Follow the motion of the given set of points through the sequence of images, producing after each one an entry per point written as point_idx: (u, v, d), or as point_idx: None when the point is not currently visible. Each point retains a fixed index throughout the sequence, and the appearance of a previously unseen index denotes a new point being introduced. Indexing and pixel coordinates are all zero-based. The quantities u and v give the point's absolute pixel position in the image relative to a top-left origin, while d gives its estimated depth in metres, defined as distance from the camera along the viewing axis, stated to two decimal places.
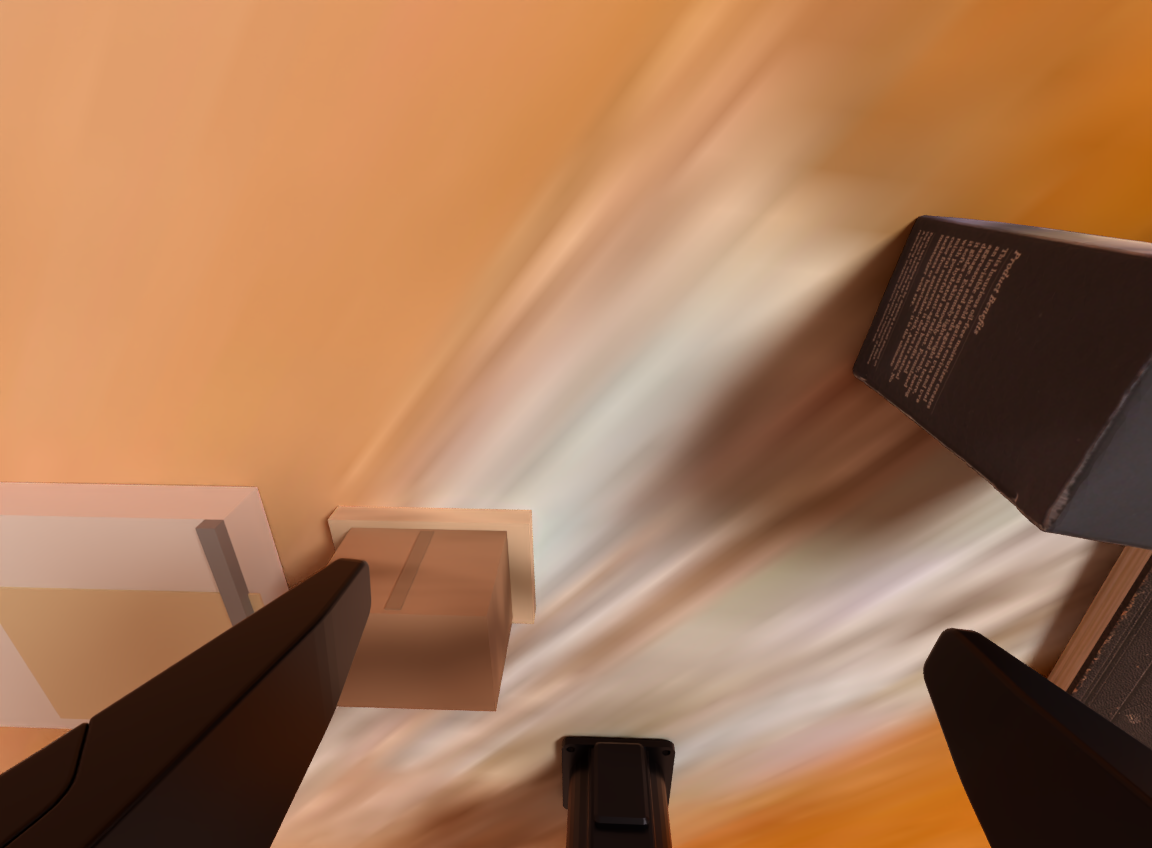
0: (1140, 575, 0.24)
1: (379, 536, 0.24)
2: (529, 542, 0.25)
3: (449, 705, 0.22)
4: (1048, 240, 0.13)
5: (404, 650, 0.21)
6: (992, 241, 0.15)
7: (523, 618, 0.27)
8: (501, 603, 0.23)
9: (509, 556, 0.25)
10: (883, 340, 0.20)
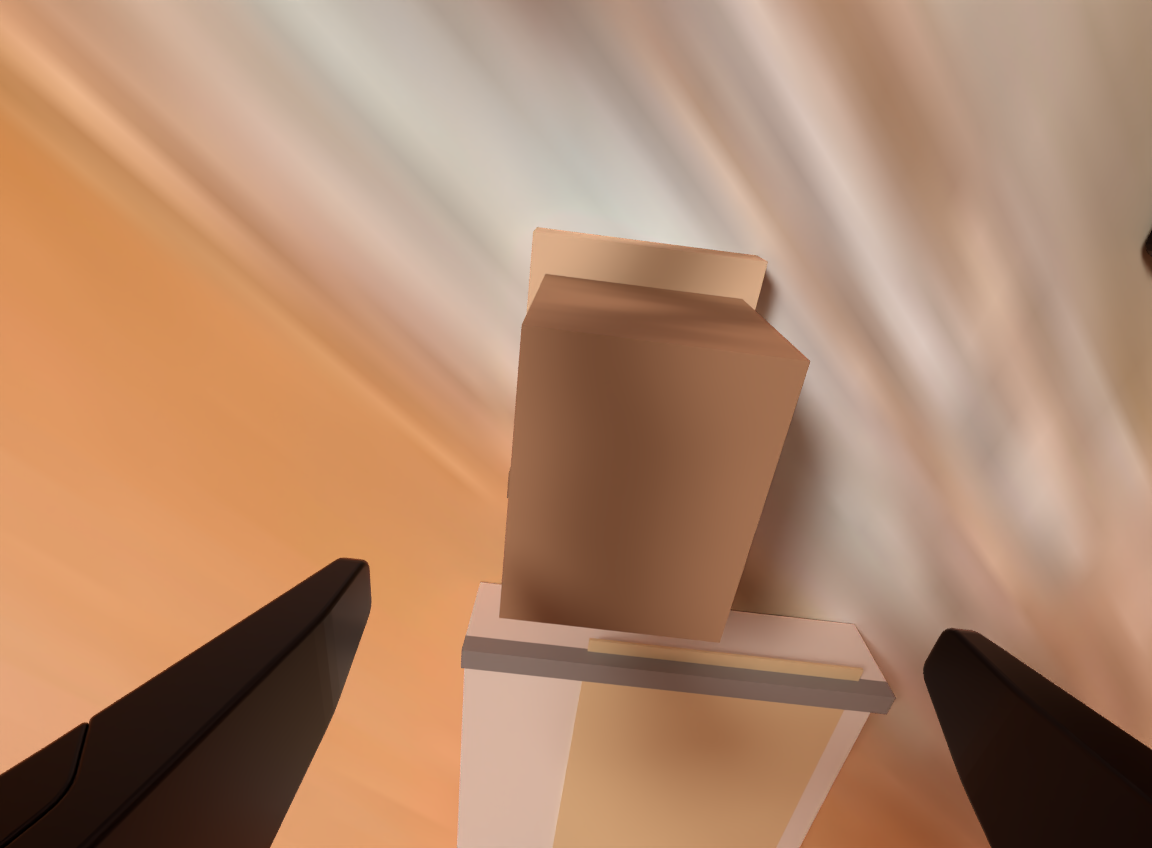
0: None
1: None
2: (575, 237, 0.14)
3: (768, 451, 0.11)
4: None
5: (601, 492, 0.11)
6: None
7: (750, 279, 0.14)
8: (625, 304, 0.12)
9: (600, 279, 0.14)
10: None
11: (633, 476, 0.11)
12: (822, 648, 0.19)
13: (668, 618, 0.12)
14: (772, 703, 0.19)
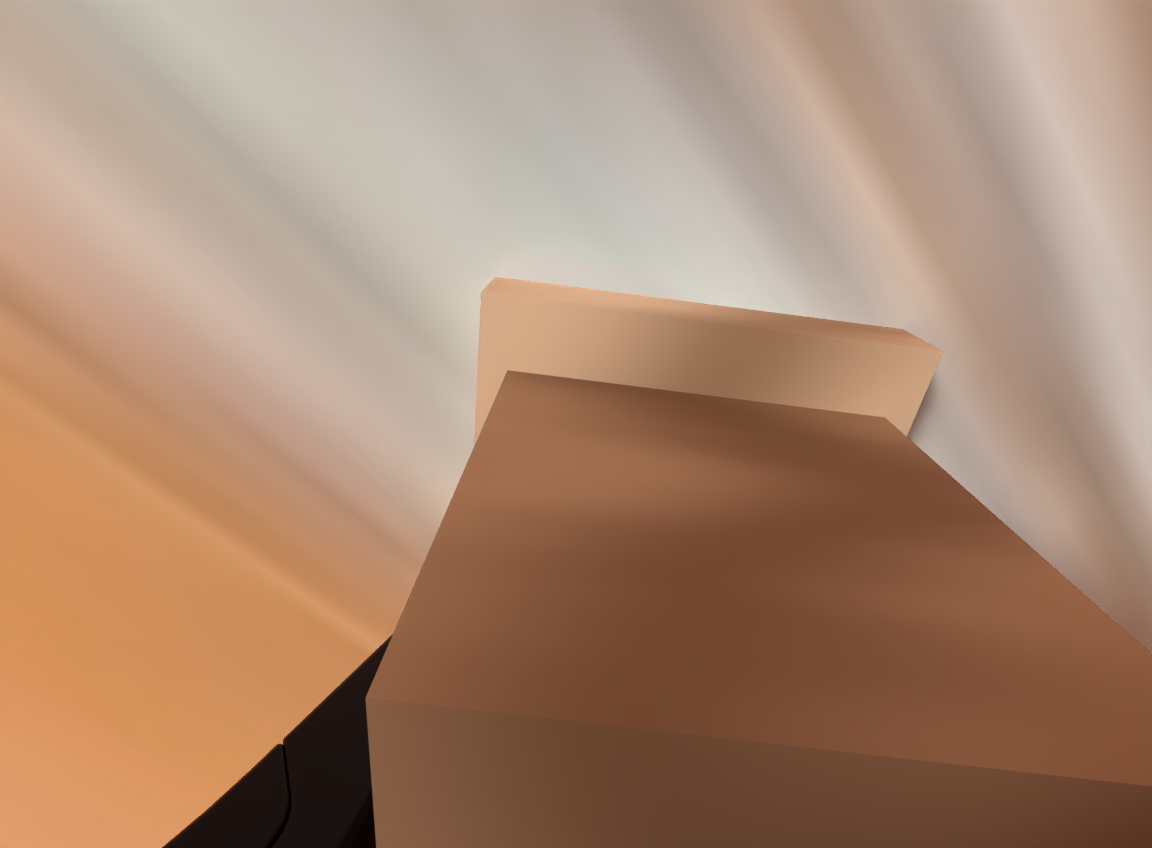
0: None
1: None
2: (565, 304, 0.07)
3: None
4: None
5: None
6: None
7: (904, 383, 0.07)
8: (675, 478, 0.05)
9: (613, 380, 0.07)
10: None
11: None
12: None
13: None
14: None
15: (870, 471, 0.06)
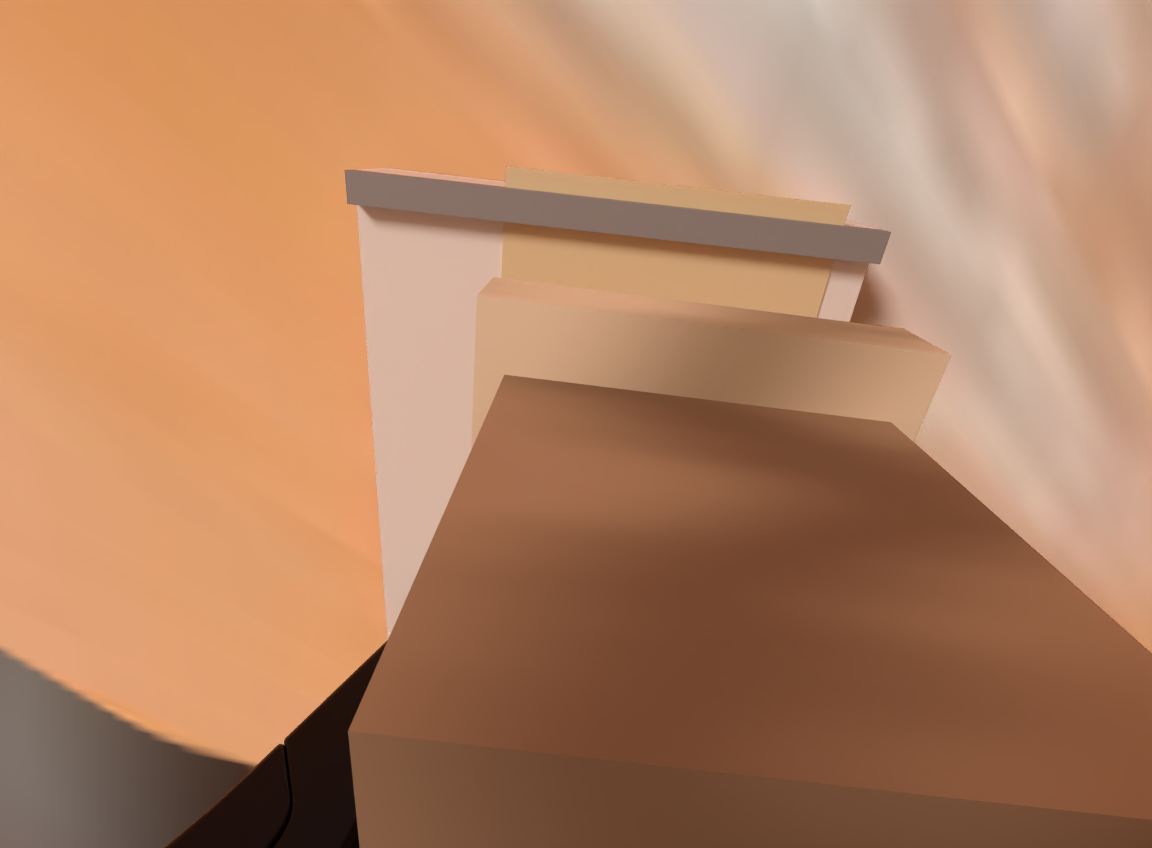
0: None
1: None
2: (563, 307, 0.07)
3: None
4: None
5: None
6: None
7: (911, 387, 0.07)
8: (677, 487, 0.05)
9: (612, 385, 0.07)
10: None
11: None
12: None
13: None
14: (738, 272, 0.15)
15: (878, 479, 0.06)
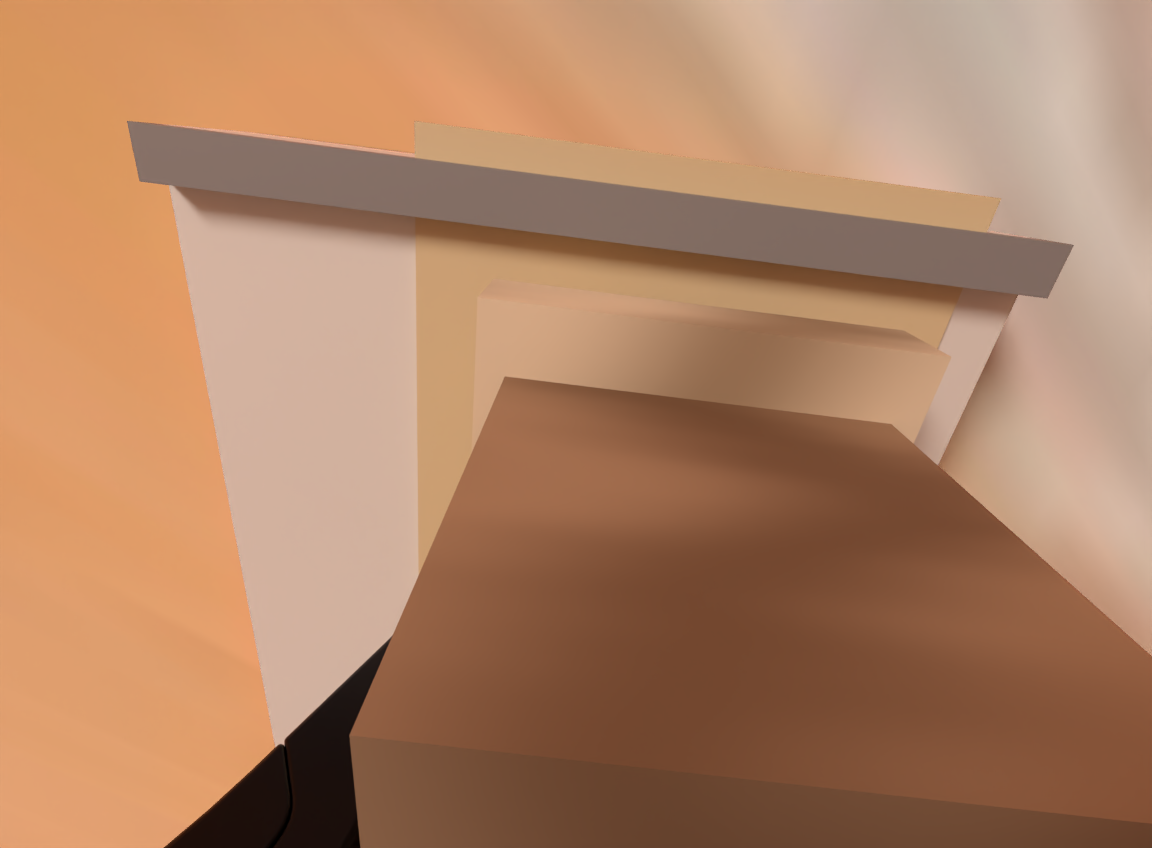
0: None
1: None
2: (563, 308, 0.07)
3: None
4: None
5: None
6: None
7: (912, 389, 0.07)
8: (678, 490, 0.05)
9: (613, 387, 0.07)
10: None
11: None
12: None
13: None
14: (804, 306, 0.09)
15: (878, 481, 0.06)
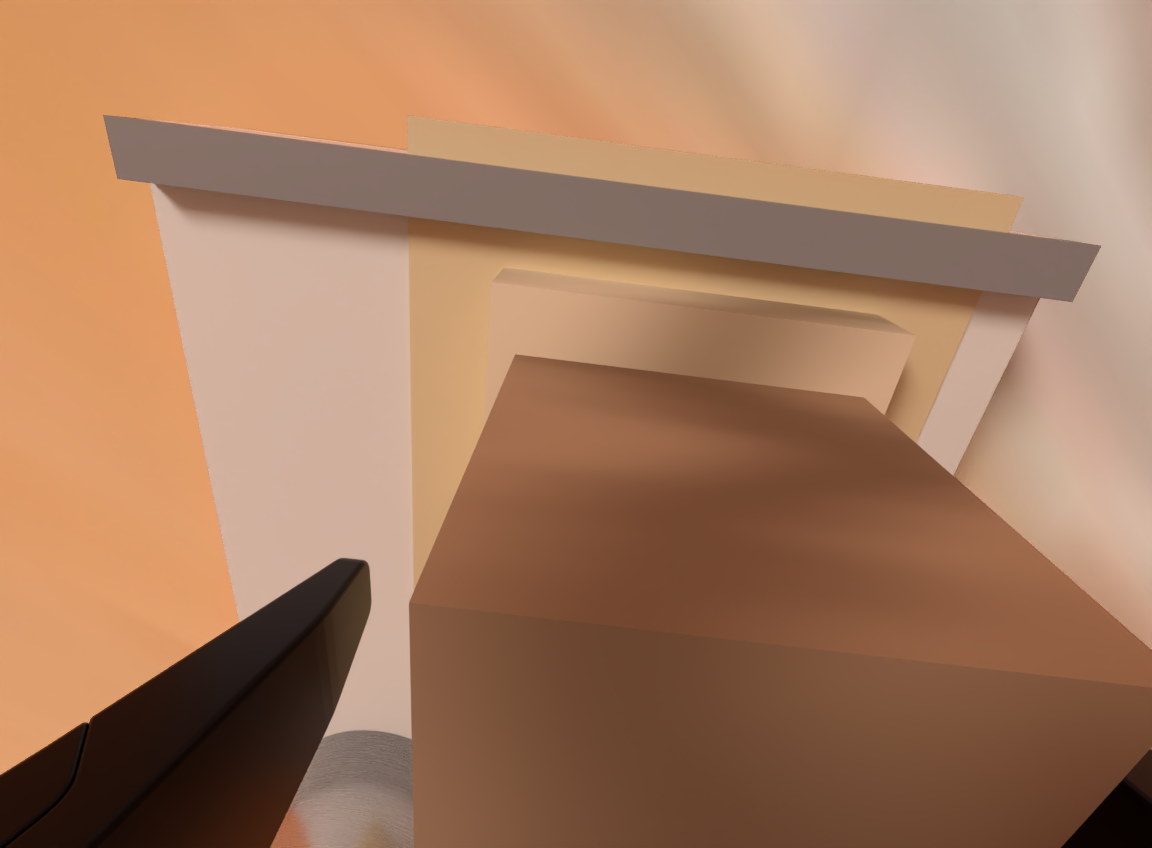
0: None
1: None
2: (568, 292, 0.08)
3: None
4: None
5: None
6: None
7: (881, 365, 0.08)
8: (669, 444, 0.06)
9: (612, 364, 0.08)
10: None
11: None
12: None
13: None
14: None
15: (846, 441, 0.07)
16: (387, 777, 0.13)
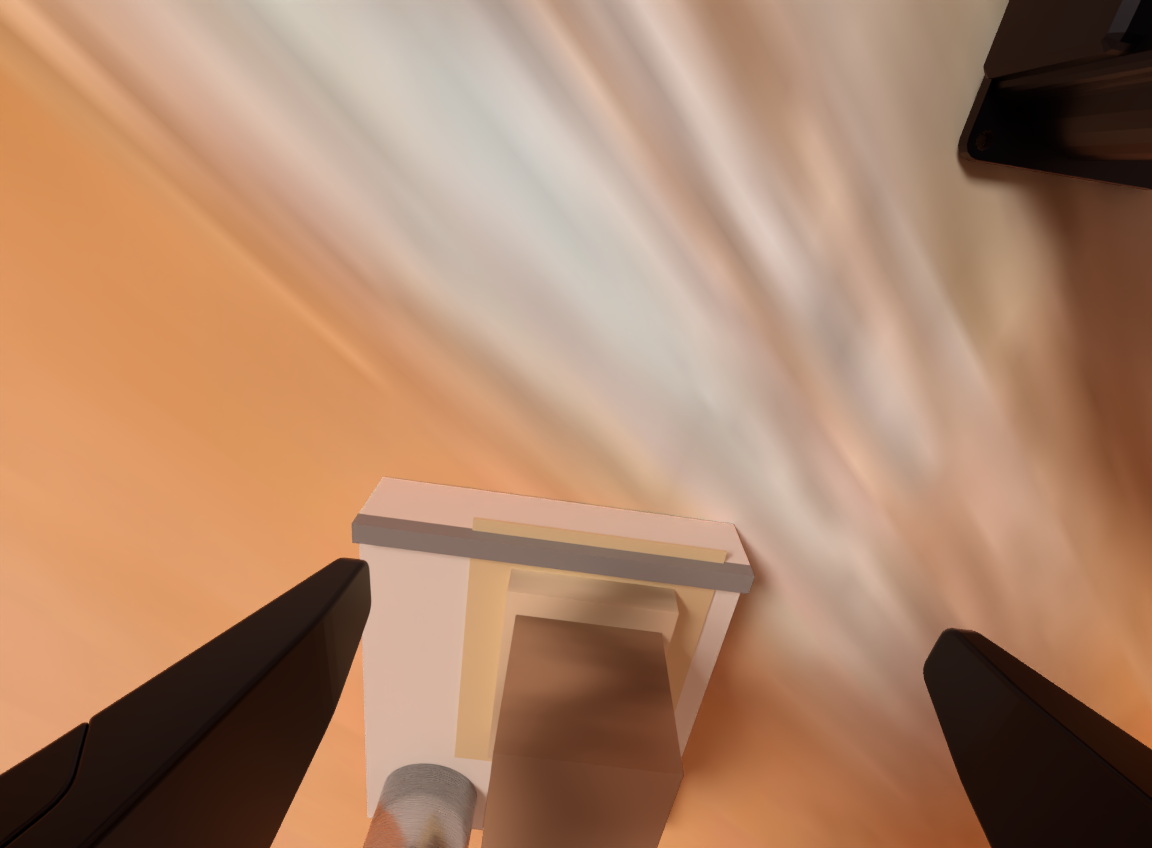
0: None
1: None
2: (538, 594, 0.19)
3: (660, 815, 0.16)
4: None
5: (548, 830, 0.16)
6: None
7: (666, 622, 0.19)
8: (570, 677, 0.17)
9: (556, 618, 0.19)
10: None
11: (569, 824, 0.16)
12: (697, 539, 0.21)
13: None
14: None
15: (638, 668, 0.18)
16: (439, 790, 0.24)
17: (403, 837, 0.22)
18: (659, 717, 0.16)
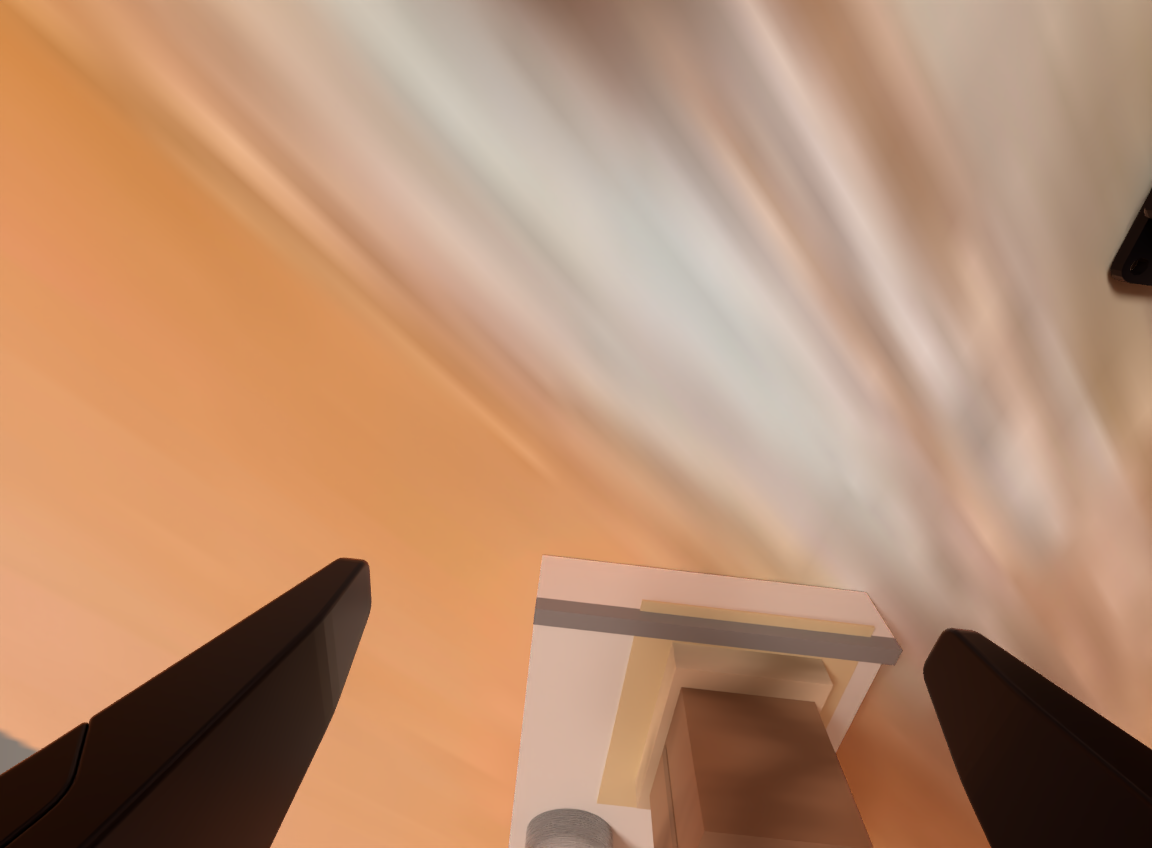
0: None
1: (657, 789, 0.23)
2: (703, 669, 0.21)
3: None
4: None
5: None
6: None
7: (820, 692, 0.21)
8: (747, 752, 0.19)
9: (718, 690, 0.21)
10: None
11: None
12: (839, 611, 0.22)
13: None
14: None
15: (804, 740, 0.19)
16: (585, 834, 0.26)
17: None
18: (837, 790, 0.18)
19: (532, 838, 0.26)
